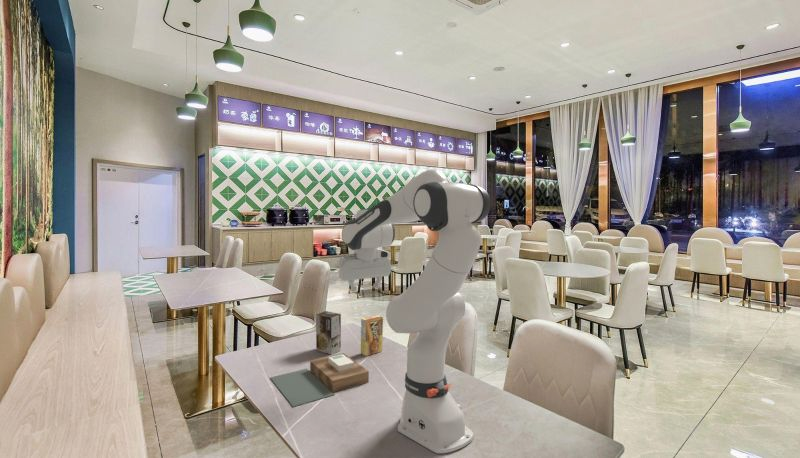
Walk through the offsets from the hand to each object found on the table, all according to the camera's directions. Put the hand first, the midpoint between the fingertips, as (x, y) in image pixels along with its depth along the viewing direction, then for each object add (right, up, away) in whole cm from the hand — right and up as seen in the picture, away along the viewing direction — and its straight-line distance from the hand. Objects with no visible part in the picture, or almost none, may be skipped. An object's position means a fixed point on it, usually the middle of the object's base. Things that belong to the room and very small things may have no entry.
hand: (365, 289), depth 145 cm
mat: (-22, -33, -8) cm, 40 cm away
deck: (-10, -32, 0) cm, 34 cm away
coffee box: (-18, -30, +25) cm, 43 cm away
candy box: (+1, -31, +24) cm, 39 cm away
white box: (-9, -28, +1) cm, 30 cm away
